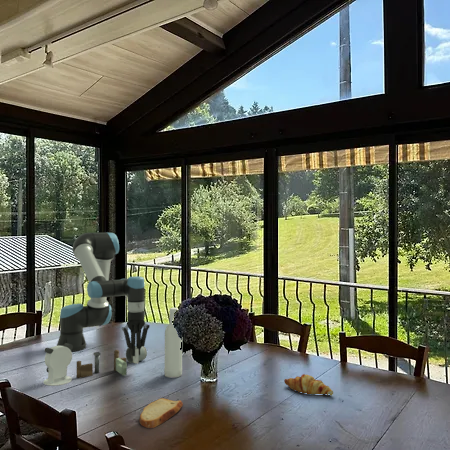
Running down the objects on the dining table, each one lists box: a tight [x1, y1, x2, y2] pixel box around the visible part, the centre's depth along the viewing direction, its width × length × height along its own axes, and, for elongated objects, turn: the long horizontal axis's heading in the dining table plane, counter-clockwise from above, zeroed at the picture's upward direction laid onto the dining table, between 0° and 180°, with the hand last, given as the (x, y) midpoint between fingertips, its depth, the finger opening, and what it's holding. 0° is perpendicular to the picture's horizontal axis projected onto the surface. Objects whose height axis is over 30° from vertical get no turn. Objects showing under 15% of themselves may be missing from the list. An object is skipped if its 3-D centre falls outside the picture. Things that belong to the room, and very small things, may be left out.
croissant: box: [283, 373, 334, 396], centre depth 181 cm, size 21×10×8 cm, turn 59°
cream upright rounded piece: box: [43, 343, 73, 387], centre depth 191 cm, size 12×11×15 cm
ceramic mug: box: [125, 345, 148, 364], centre depth 220 cm, size 11×8×8 cm
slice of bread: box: [138, 397, 184, 429], centre depth 158 cm, size 18×18×4 cm
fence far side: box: [76, 360, 94, 379], centre depth 197 cm, size 2×7×7 cm, turn 124°
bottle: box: [163, 307, 183, 379], centre depth 200 cm, size 8×8×30 cm
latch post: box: [93, 351, 101, 374], centre depth 202 cm, size 2×2×9 cm
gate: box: [115, 357, 128, 376], centre depth 201 cm, size 8×2×6 cm, turn 35°
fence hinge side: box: [113, 349, 127, 372], centre depth 206 cm, size 2×6×10 cm, turn 125°
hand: (135, 362), depth 202 cm, fingers closed
